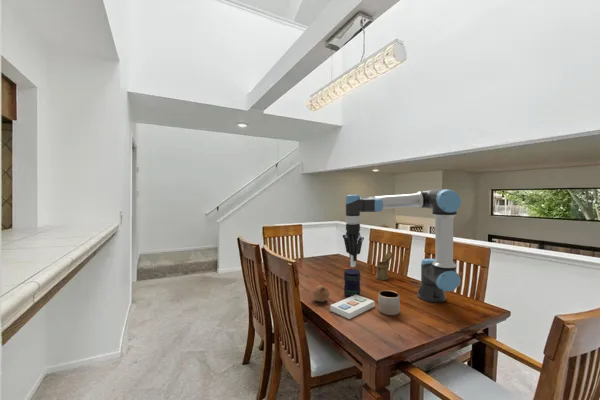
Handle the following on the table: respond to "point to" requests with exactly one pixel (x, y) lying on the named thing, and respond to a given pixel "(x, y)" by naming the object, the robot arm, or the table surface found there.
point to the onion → (321, 293)
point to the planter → (389, 302)
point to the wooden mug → (383, 268)
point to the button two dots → (360, 299)
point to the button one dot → (344, 306)
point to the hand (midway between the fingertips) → (353, 266)
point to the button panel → (352, 307)
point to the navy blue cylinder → (351, 282)
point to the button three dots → (352, 303)
